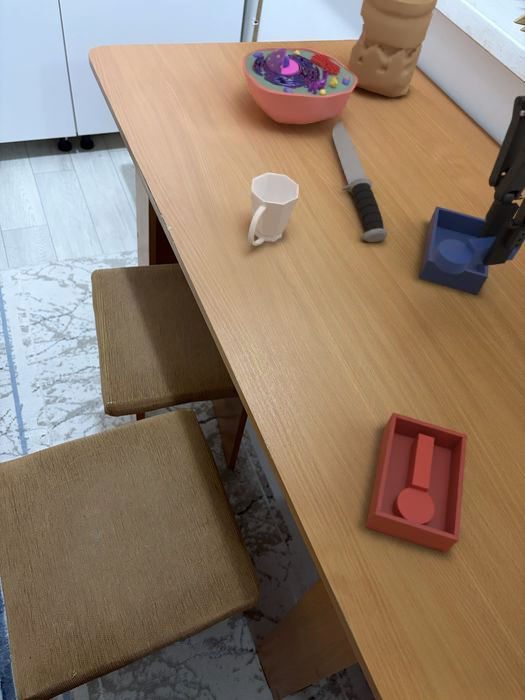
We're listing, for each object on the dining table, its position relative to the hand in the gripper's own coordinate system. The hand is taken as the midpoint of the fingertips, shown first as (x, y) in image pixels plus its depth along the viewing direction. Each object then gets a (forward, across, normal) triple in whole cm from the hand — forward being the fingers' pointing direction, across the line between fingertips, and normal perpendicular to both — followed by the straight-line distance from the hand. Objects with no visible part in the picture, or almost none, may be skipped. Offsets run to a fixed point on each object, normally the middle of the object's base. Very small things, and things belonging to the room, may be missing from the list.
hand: (488, 254), depth 70 cm
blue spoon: (0, 0, +2) cm, 2 cm away
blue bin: (+13, +11, -6) cm, 18 cm away
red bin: (+13, -21, +15) cm, 29 cm away
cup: (+13, +20, +21) cm, 32 cm away
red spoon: (+12, -21, +15) cm, 29 cm away
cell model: (+13, +50, +7) cm, 52 cm away
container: (+13, +59, -13) cm, 61 cm away
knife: (+13, +31, +3) cm, 33 cm away
